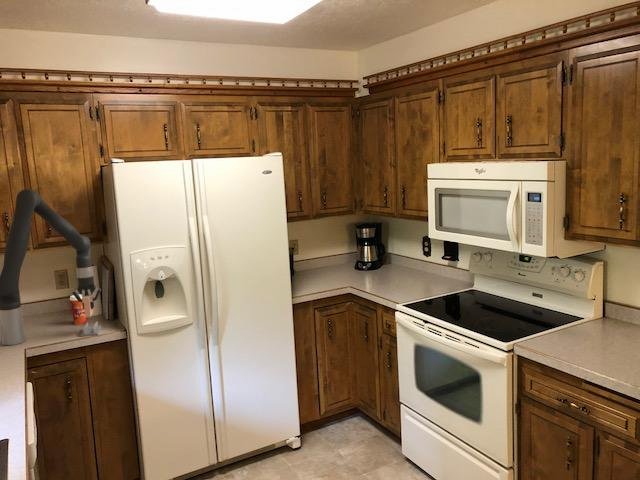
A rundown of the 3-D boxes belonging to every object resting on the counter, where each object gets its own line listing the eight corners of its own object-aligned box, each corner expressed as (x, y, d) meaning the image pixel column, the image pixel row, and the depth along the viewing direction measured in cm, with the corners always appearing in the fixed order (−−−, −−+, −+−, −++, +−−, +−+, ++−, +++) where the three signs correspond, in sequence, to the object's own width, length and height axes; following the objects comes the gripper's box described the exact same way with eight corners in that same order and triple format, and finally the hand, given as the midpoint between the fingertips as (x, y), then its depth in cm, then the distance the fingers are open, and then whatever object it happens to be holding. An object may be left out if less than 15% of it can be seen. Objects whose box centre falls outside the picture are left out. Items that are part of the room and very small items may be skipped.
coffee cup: (77, 326, 280) (74, 298, 278) (69, 323, 285) (66, 296, 283) (91, 322, 287) (89, 295, 284) (83, 319, 292) (81, 293, 289)
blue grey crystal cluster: (80, 336, 263) (79, 330, 262) (84, 328, 275) (83, 322, 274) (97, 335, 265) (96, 328, 264) (101, 327, 277) (100, 320, 276)
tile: (90, 317, 265) (88, 297, 263) (85, 317, 264) (83, 298, 262) (93, 312, 273) (91, 293, 272) (88, 312, 273) (86, 293, 271)
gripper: (68, 278, 260) (72, 312, 263) (99, 275, 264) (102, 309, 266) (71, 275, 267) (75, 308, 270) (101, 272, 271) (104, 305, 273)
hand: (88, 308), depth 268 cm, fingers closed on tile, 2 cm apart
